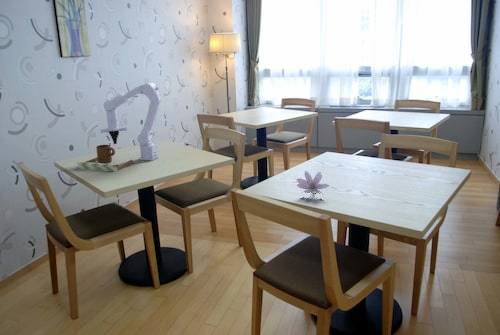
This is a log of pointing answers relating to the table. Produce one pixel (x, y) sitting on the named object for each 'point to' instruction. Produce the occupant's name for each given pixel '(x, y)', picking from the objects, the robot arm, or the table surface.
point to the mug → (105, 153)
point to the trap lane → (102, 165)
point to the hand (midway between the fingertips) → (115, 143)
